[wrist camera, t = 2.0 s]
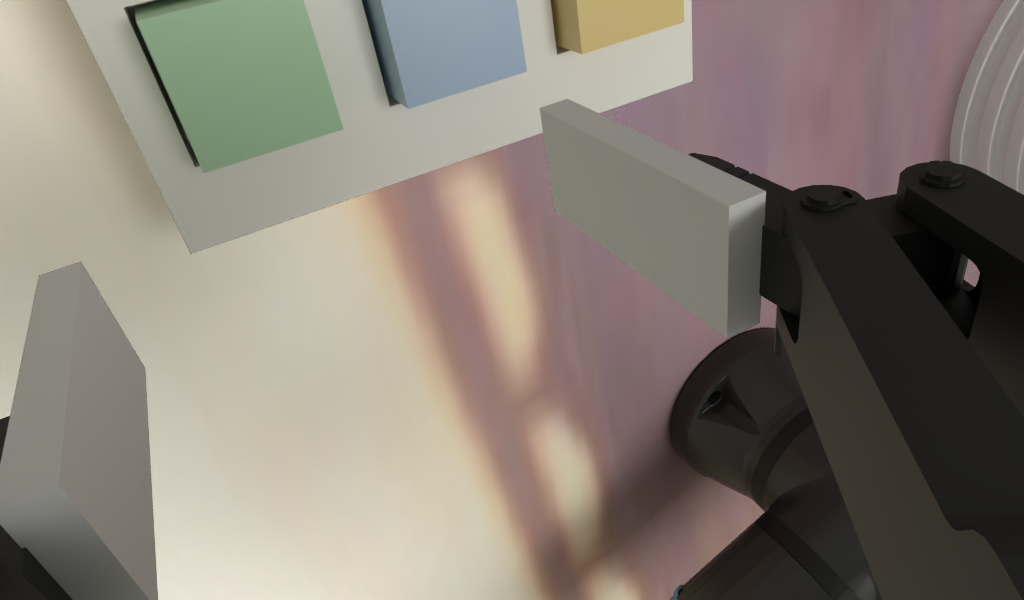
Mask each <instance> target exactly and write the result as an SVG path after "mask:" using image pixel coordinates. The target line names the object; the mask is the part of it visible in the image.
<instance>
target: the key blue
mask: <svg viewBox="0 0 1024 600" xmlns="http://www.w3.org/2000/svg"><path fill="white" fill-rule="evenodd" d="M362 3H363V7H364V11H365V15H366V18H367V22H368V26H369V30H370V33H371V37H372V41H373V45H374V48H375V52H376V56H377V60H378V63H379V67H380V71H381V75H382V79H383V82H384V86H385V90H386V93H388V94H389V95H390V96H392V97H393V98H394V99H395V100H397V101H398V102H399V103H401V104H402V105H403V106H405V107H406V108H407V109H410V108H413V107H416V106H419V105H423V104H426V103H429V102H432V101H435V100H438V99H442V98H445V97H448V96H451V95H454V94H457V93H461V92H464V91H467V90H470V89H473V88H477V87H480V86H483V85H486V84H489V83H492V82H496V81H499V80H502V79H505V78H508V77H512V76H515V75H518V74H521V73H524V72H527V68H526V62H525V55H524V48H523V41H522V35H521V28H520V21H519V14H518V8H517V1H516V0H362Z"/></svg>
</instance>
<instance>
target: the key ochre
mask: <svg viewBox="0 0 1024 600" xmlns="http://www.w3.org/2000/svg"><path fill="white" fill-rule="evenodd" d="M551 8H552V17H553V25H554V33H555V41H556V45H557V46H560V47H563V48H566V49H568V50H571V51H574V52H577V53H580V54H585V53H588V52H591V51H594V50H597V49H601V48H604V47H607V46H610V45H613V44H616V43H620V42H623V41H626V40H629V39H632V38H635V37H639V36H642V35H645V34H648V33H651V32H655V31H658V30H661V29H664V28H667V27H670V26H674V25H677V24H680V23H683V22H684V0H551Z"/></svg>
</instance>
